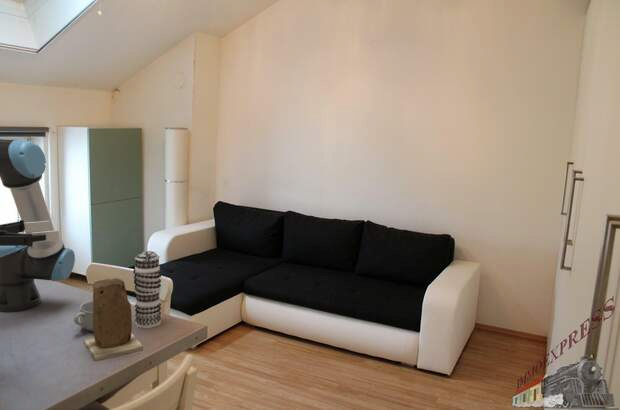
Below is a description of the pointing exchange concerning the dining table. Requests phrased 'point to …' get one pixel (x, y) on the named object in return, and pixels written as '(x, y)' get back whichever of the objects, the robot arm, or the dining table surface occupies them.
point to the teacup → (85, 316)
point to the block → (111, 313)
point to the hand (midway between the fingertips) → (54, 230)
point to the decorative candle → (147, 289)
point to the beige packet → (112, 348)
